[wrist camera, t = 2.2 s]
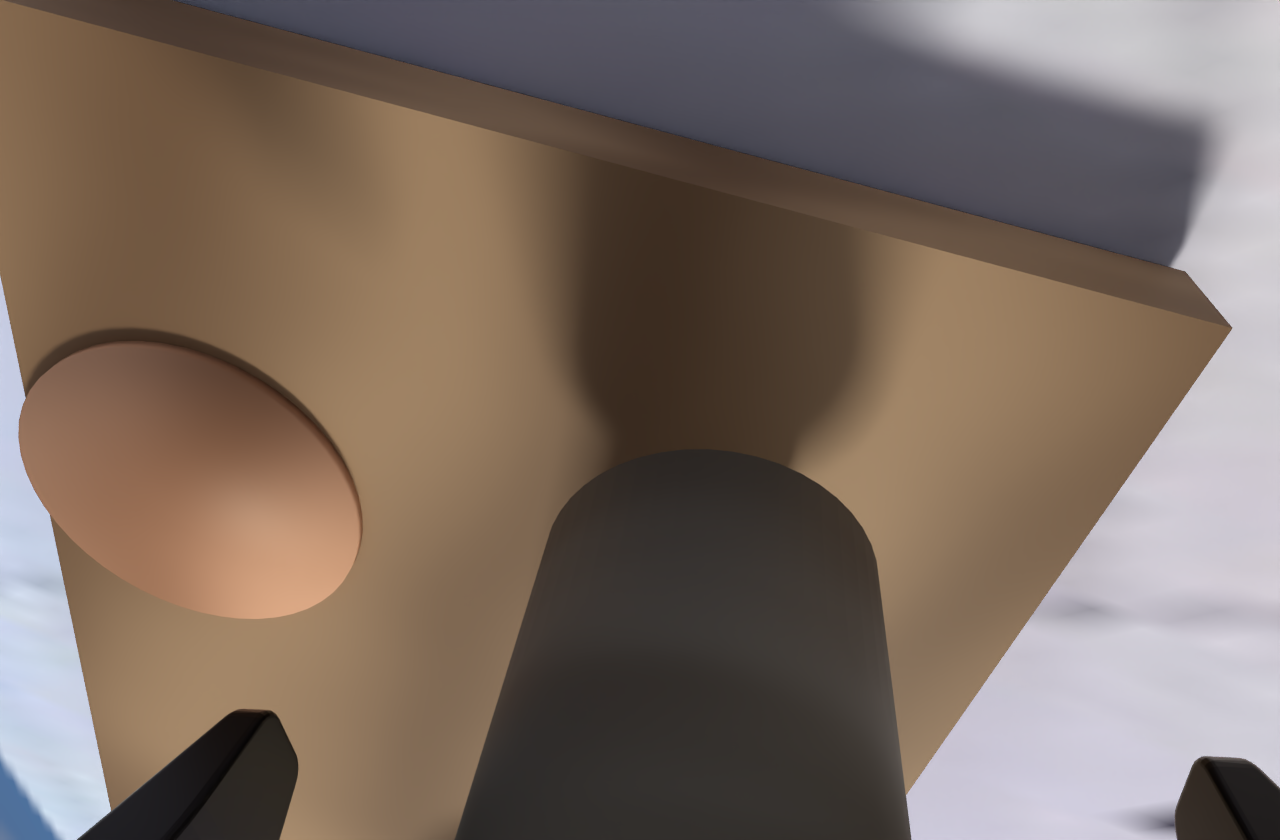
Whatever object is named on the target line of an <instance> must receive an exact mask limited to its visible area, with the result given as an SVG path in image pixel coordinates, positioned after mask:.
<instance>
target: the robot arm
mask: <svg viewBox="0 0 1280 840" xmlns="http://www.w3.org/2000/svg"><path fill="white" fill-rule="evenodd" d="M297 778H298V758H297V755H296V752H295V750H294V748H293V746H292V744H291V742H290V740H289V738H288V736H287V734H286V731H285V729H284V727H283V725H282V723H281V721H280V719H279V717H278V716H277V714H276V713H274V712H273V711H271V710H262V709H237V710H235V711H233V712H231V713H229V714H228V715H226V716H225V717H224V718H223V719H221V720H220V721H219V722H218V723H216V724H215V725H214V726H213V727H212V728H210V729H209V730H208V731H207V732H206V733H204V734H203V735H202V736H201V737H200V738H198V739H197V740H196V741H195V742H194V743H192V744H191V745H190V746H189V747H188V748H186V749H185V750H184V751H183V752H182V753H180V754H179V755H178V756H177V757H176V758H174V759H173V760H172V761H171V762H170V763H168V764H167V765H166V766H165V767H164V768H162V769H161V770H160V771H159V772H158V773H156V774H155V775H154V776H153V777H152V778H150V779H149V780H148V781H147V782H146V783H144V784H143V785H142V786H141V787H140V788H138V789H137V790H136V791H135V792H134V793H132V794H131V795H130V796H129V797H128V798H126V799H125V800H124V801H123V802H122V803H120V804H119V805H118V806H117V807H116V808H114V809H113V810H112V811H111V812H110V813H108V814H107V815H106V816H105V817H104V818H102V819H101V820H100V821H99V822H98V823H96V824H95V825H94V826H93V827H92V828H90V829H89V830H88V831H87V832H86V833H84V834H83V835H82V836H81V837H80V838H78V839H77V840H280V836H281V833H282V830H283V826H284V823H285V819H286V816H287V813H288V809H289V806H290V802H291V799H292V796H293V792H294V789H295V785H296V782H297ZM1175 830H1176V836H1177V840H1280V788H1279V787H1278V786H1277V785H1276V784H1275V783H1274V782H1273V781H1272V780H1271V779H1270V778H1269V777H1268V776H1267V775H1266V774H1265V773H1264V772H1263V771H1262V770H1261V769H1260V768H1258V767H1257V766H1256V765H1255V764H1253V763H1251V762H1250V761H1248V760H1246V759H1242V758H1231V757H1211V756H1203V757H1200V758H1199V759H1197V760H1196V761H1195V762H1194V764H1193V765H1192V768H1191V770H1190V773H1189V775H1188V778H1187V780H1186V783H1185V786H1184V788H1183V791H1182V793H1181V796H1180V798H1179V801H1178V803H1177V806H1176V810H1175Z"/></svg>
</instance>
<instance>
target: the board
mask: <svg viewBox="0 0 1280 840" xmlns="http://www.w3.org/2000/svg"><path fill="white" fill-rule="evenodd" d="M0 276H1V281H2V285H3V290H4V295H5V300H6V305H7V310H8V314H9V319H10V324H11V329H12V334H13V339H14V343H15V348H16V353H17V358H18V363H19V367H20V372H21V377H22V382H23V387H24V392H25V396H26V399H25V401H24V404H23V406H22V410H21V415H20V419H19V444H20V452H21V456H22V460H23V463H24V467H25V470H26V473H27V475H28V477H29V479H30V482H31V484H32V486H33V488H34V490H35V492H36V494H37V495H38V497H39V499H40V500H41V502H42V504H43V505H44V507H45V508H46V510H47V511H48V512H49V514H50V517H51V522H52V527H53V532H54V536H55V541H56V546H57V551H58V556H59V561H60V565H61V570H62V575H63V580H64V585H65V590H66V594H67V599H68V604H69V609H70V614H71V619H72V623H73V628H74V633H75V638H76V643H77V648H78V652H79V657H80V662H81V667H82V672H83V676H84V681H85V686H86V691H87V696H88V701H89V705H90V710H91V715H92V720H93V725H94V730H95V734H96V739H97V744H98V749H99V754H100V759H101V763H102V768H103V773H104V778H105V783H106V788H107V792H108V797H109V802H110V807H111V811H112V810H113V809H114V808H116V807H117V806H118V805H119V804H120V803H122V802H123V801H124V800H125V799H126V798H128V797H129V796H130V795H131V794H132V793H134V792H135V791H136V790H137V789H138V788H140V787H141V786H142V785H143V784H144V783H146V782H147V781H148V780H149V779H150V778H152V777H153V776H154V775H155V774H156V773H158V772H159V771H160V770H161V769H162V768H164V767H165V766H166V765H167V764H168V763H170V762H171V761H172V760H173V759H174V758H176V757H177V756H178V755H179V754H180V753H182V752H183V751H184V750H185V749H186V748H188V747H189V746H190V745H191V744H192V743H194V742H195V741H196V740H197V739H198V738H200V737H201V736H202V735H203V734H204V733H206V732H207V731H208V730H209V729H210V728H212V727H213V726H214V725H215V724H216V723H218V722H219V721H220V720H221V719H223V718H224V717H225V716H226V715H228V714H229V713H231V712H233V711H235V710H237V709H262V710H271V711H273V712H274V713H276V714H277V716H278V717H279V719H280V721H281V723H282V725H283V727H284V729H285V731H286V734H287V736H288V738H289V740H290V742H291V744H292V746H293V748H294V750H295V752H296V755H297V758H298V778H297V782H296V785H295V789H294V792H293V796H292V799H291V802H290V806H289V809H288V813H287V816H286V819H285V823H284V826H283V830H282V833H281V836H280V840H455V837H456V833H457V830H458V827H459V824H460V821H461V817H462V814H463V811H464V808H465V804H466V801H467V798H468V795H469V791H470V788H471V785H472V782H473V779H474V775H475V772H476V769H477V766H478V762H479V759H480V756H481V753H482V750H483V746H484V743H485V740H486V737H487V733H488V730H489V727H490V724H491V720H492V717H493V714H494V711H495V708H496V704H497V701H498V698H499V695H500V691H501V688H502V685H503V682H504V679H505V675H506V672H507V669H508V666H509V662H510V659H511V656H512V653H513V650H514V646H515V643H516V640H517V637H518V633H519V630H520V627H521V624H522V620H523V617H524V614H525V611H526V608H527V604H528V601H529V598H530V595H531V591H532V588H533V585H534V582H535V579H536V575H537V572H538V569H539V566H540V562H541V559H542V556H543V553H544V549H545V546H546V543H547V540H548V537H549V534H550V531H551V528H552V525H553V523H554V522H555V520H556V518H557V516H558V514H559V512H560V511H561V510H562V508H563V507H564V506H565V504H566V503H567V502H568V501H569V499H570V498H571V497H572V496H573V495H574V494H575V493H576V492H577V491H578V490H580V489H581V488H582V487H583V486H584V485H585V484H587V483H588V482H589V481H591V480H592V479H594V478H595V477H597V476H598V475H600V474H601V473H603V472H605V471H607V470H609V469H611V468H613V467H615V466H617V465H619V464H622V463H625V462H627V461H630V460H633V459H636V458H639V457H643V456H647V455H651V454H655V453H660V452H667V451H675V450H684V449H711V450H722V451H732V452H737V453H742V454H747V455H752V456H757V457H760V458H763V459H766V460H769V461H773V462H776V463H779V464H781V465H783V466H786V467H788V468H790V469H792V470H795V471H797V472H799V473H801V474H803V475H805V476H806V477H808V478H810V479H811V480H813V481H815V482H816V483H818V484H820V485H821V486H822V487H824V488H825V489H826V490H828V491H829V492H830V493H832V494H833V495H834V496H835V497H837V498H838V499H839V500H840V501H841V502H842V503H843V504H844V505H845V506H846V507H847V508H848V509H849V510H850V511H851V512H852V514H853V515H854V516H855V518H856V519H857V521H858V522H859V523H860V525H861V526H862V527H863V529H864V531H865V533H866V535H867V537H868V539H869V541H870V543H871V545H872V548H873V551H874V554H875V557H876V560H877V568H878V575H879V583H880V591H881V599H882V607H883V616H884V624H885V632H886V640H887V648H888V656H889V664H890V672H891V680H892V688H893V696H894V704H895V712H896V720H897V728H898V736H899V745H900V753H901V761H902V769H903V777H904V785H905V793H906V794H907V793H908V791H909V790H910V789H911V787H912V786H913V784H914V783H915V781H916V780H917V779H918V777H919V776H920V774H921V773H922V771H923V770H924V769H925V767H926V766H927V764H928V763H929V761H930V760H931V759H932V757H933V756H934V754H935V753H936V751H937V750H938V749H939V747H940V746H941V744H942V743H943V741H944V740H945V739H946V737H947V736H948V734H949V733H950V731H951V730H952V729H953V727H954V726H955V724H956V723H957V721H958V720H959V719H960V717H961V716H962V714H963V713H964V711H965V710H966V709H967V707H968V706H969V704H970V703H971V701H972V700H973V699H974V697H975V696H976V694H977V693H978V691H979V690H980V689H981V687H982V686H983V684H984V683H985V681H986V680H987V678H988V677H989V676H990V674H991V673H992V671H993V670H994V668H995V667H996V666H997V664H998V663H999V661H1000V660H1001V658H1002V657H1003V656H1004V654H1005V653H1006V651H1007V650H1008V648H1009V647H1010V646H1011V644H1012V643H1013V641H1014V640H1015V638H1016V637H1017V636H1018V634H1019V633H1020V631H1021V630H1022V628H1023V627H1024V626H1025V624H1026V623H1027V621H1028V620H1029V618H1030V617H1031V616H1032V614H1033V613H1034V611H1035V610H1036V608H1037V607H1038V606H1039V604H1040V603H1041V601H1042V600H1043V598H1044V597H1045V596H1046V594H1047V593H1048V591H1049V590H1050V588H1051V587H1052V586H1053V584H1054V583H1055V581H1056V580H1057V578H1058V577H1059V576H1060V574H1061V573H1062V571H1063V570H1064V568H1065V567H1066V565H1067V564H1068V563H1069V561H1070V560H1071V558H1072V557H1073V555H1074V554H1075V553H1076V551H1077V550H1078V548H1079V547H1080V545H1081V544H1082V543H1083V541H1084V540H1085V538H1086V537H1087V535H1088V534H1089V533H1090V531H1091V530H1092V528H1093V527H1094V525H1095V524H1096V523H1097V521H1098V520H1099V518H1100V517H1101V515H1102V514H1103V513H1104V511H1105V510H1106V508H1107V507H1108V505H1109V504H1110V503H1111V501H1112V500H1113V498H1114V497H1115V495H1116V494H1117V493H1118V491H1119V490H1120V488H1121V487H1122V485H1123V484H1124V483H1125V481H1126V480H1127V478H1128V477H1129V475H1130V474H1131V473H1132V471H1133V470H1134V468H1135V467H1136V465H1137V464H1138V462H1139V461H1140V460H1141V458H1142V457H1143V455H1144V454H1145V452H1146V451H1147V450H1148V448H1149V447H1150V445H1151V444H1152V442H1153V441H1154V440H1155V438H1156V437H1157V435H1158V434H1159V432H1160V431H1161V430H1162V428H1163V427H1164V425H1165V424H1166V422H1167V421H1168V420H1169V418H1170V417H1171V415H1172V414H1173V412H1174V411H1175V410H1176V408H1177V407H1178V405H1179V404H1180V402H1181V401H1182V400H1183V398H1184V397H1185V395H1186V394H1187V392H1188V391H1189V390H1190V388H1191V387H1192V385H1193V384H1194V382H1195V381H1196V380H1197V378H1198V377H1199V375H1200V374H1201V372H1202V371H1203V370H1204V368H1205V367H1206V365H1207V364H1208V362H1209V361H1210V360H1211V358H1212V357H1213V355H1214V354H1215V352H1216V351H1217V349H1218V348H1219V347H1220V345H1221V344H1222V342H1223V341H1224V339H1225V338H1226V337H1227V335H1228V334H1229V332H1230V331H1231V329H1232V327H1231V326H1230V325H1229V323H1228V322H1227V321H1226V320H1225V319H1224V317H1223V316H1222V315H1221V314H1220V313H1219V311H1218V310H1217V309H1216V308H1215V307H1214V305H1213V304H1212V303H1211V302H1210V301H1209V299H1208V298H1207V297H1206V296H1205V295H1204V293H1203V292H1202V291H1201V290H1200V289H1199V287H1198V286H1197V285H1196V284H1195V283H1194V281H1193V280H1192V279H1191V278H1190V277H1189V275H1188V274H1187V273H1186V272H1185V271H1181V270H1177V269H1174V268H1170V267H1166V266H1162V265H1159V264H1155V263H1151V262H1147V261H1144V260H1140V259H1136V258H1132V257H1129V256H1125V255H1121V254H1118V253H1114V252H1110V251H1106V250H1103V249H1099V248H1095V247H1091V246H1088V245H1084V244H1080V243H1076V242H1073V241H1069V240H1065V239H1062V238H1058V237H1054V236H1050V235H1047V234H1043V233H1039V232H1035V231H1032V230H1028V229H1024V228H1020V227H1017V226H1013V225H1009V224H1006V223H1002V222H998V221H994V220H991V219H987V218H983V217H979V216H976V215H972V214H968V213H964V212H961V211H957V210H953V209H950V208H946V207H942V206H938V205H935V204H931V203H927V202H923V201H920V200H916V199H912V198H908V197H905V196H901V195H897V194H894V193H890V192H886V191H882V190H879V189H875V188H871V187H867V186H864V185H860V184H856V183H853V182H849V181H845V180H841V179H838V178H834V177H830V176H826V175H823V174H819V173H815V172H811V171H808V170H804V169H800V168H797V167H793V166H789V165H785V164H782V163H778V162H774V161H770V160H767V159H763V158H759V157H755V156H752V155H748V154H744V153H741V152H737V151H733V150H729V149H726V148H722V147H718V146H714V145H711V144H707V143H703V142H699V141H696V140H692V139H688V138H685V137H681V136H677V135H673V134H670V133H666V132H662V131H658V130H655V129H651V128H647V127H643V126H640V125H636V124H632V123H629V122H625V121H621V120H617V119H614V118H610V117H606V116H602V115H599V114H595V113H591V112H587V111H584V110H580V109H576V108H573V107H569V106H565V105H561V104H558V103H554V102H550V101H546V100H543V99H539V98H535V97H531V96H528V95H524V94H520V93H517V92H513V91H509V90H505V89H502V88H498V87H494V86H490V85H487V84H483V83H479V82H475V81H472V80H468V79H464V78H461V77H457V76H453V75H449V74H446V73H442V72H438V71H434V70H431V69H427V68H423V67H419V66H416V65H412V64H408V63H405V62H401V61H397V60H393V59H390V58H386V57H382V56H378V55H375V54H371V53H367V52H363V51H360V50H356V49H352V48H349V47H345V46H341V45H337V44H334V43H330V42H326V41H322V40H319V39H315V38H311V37H307V36H304V35H300V34H296V33H293V32H289V31H285V30H281V29H278V28H274V27H270V26H266V25H263V24H259V23H255V22H251V21H248V20H244V19H240V18H237V17H233V16H229V15H225V14H222V13H218V12H214V11H210V10H207V9H203V8H199V7H195V6H192V5H188V4H184V3H181V2H177V1H173V0H0Z"/></svg>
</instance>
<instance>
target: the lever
mask: <svg viewBox="0 0 1280 840" xmlns="http://www.w3.org/2000/svg"><path fill="white" fill-rule="evenodd" d="M455 840H911V833H910V825H909V817H908V809H907V801H906V793H905V785H904V777H903V769H902V761H901V753H900V745H899V736H898V728H897V720H896V712H895V704H894V696H893V688H892V680H891V672H890V664H889V656H888V648H887V640H886V632H885V624H884V616H883V607H882V599H881V591H880V583H879V575H878V568H877V560H876V557H875V554H874V551H873V548H872V545H871V543H870V541H869V539H868V537H867V535H866V533H865V531H864V529H863V527H862V526H861V525H860V523H859V522H858V521H857V519H856V518H855V516H854V515H853V514H852V512H851V511H850V510H849V509H848V508H847V507H846V506H845V505H844V504H843V503H842V502H841V501H840V500H839V499H838V498H837V497H835V496H834V495H833V494H832V493H830V492H829V491H828V490H826V489H825V488H824V487H822V486H821V485H820V484H818V483H816V482H815V481H813V480H811V479H810V478H808V477H806V476H805V475H803V474H801V473H799V472H797V471H795V470H792V469H790V468H788V467H786V466H783V465H781V464H779V463H776V462H773V461H769V460H766V459H763V458H760V457H757V456H752V455H747V454H742V453H737V452H732V451H722V450H711V449H684V450H675V451H667V452H660V453H655V454H651V455H647V456H643V457H639V458H636V459H633V460H630V461H627V462H625V463H622V464H619V465H617V466H615V467H613V468H611V469H609V470H607V471H605V472H603V473H601V474H600V475H598V476H597V477H595V478H594V479H592V480H591V481H589V482H588V483H587V484H585V485H584V486H583V487H582V488H581V489H580V490H578V491H577V492H576V493H575V494H574V495H573V496H572V497H571V498H570V499H569V501H568V502H567V503H566V504H565V506H564V507H563V508H562V510H561V511H560V512H559V514H558V516H557V518H556V520H555V522H554V523H553V525H552V528H551V531H550V534H549V537H548V540H547V543H546V546H545V549H544V553H543V556H542V559H541V562H540V566H539V569H538V572H537V575H536V579H535V582H534V585H533V588H532V591H531V595H530V598H529V601H528V604H527V608H526V611H525V614H524V617H523V620H522V624H521V627H520V630H519V633H518V637H517V640H516V643H515V646H514V650H513V653H512V656H511V659H510V662H509V666H508V669H507V672H506V675H505V679H504V682H503V685H502V688H501V691H500V695H499V698H498V701H497V704H496V708H495V711H494V714H493V717H492V720H491V724H490V727H489V730H488V733H487V737H486V740H485V743H484V746H483V750H482V753H481V756H480V759H479V762H478V766H477V769H476V772H475V775H474V779H473V782H472V785H471V788H470V791H469V795H468V798H467V801H466V804H465V808H464V811H463V814H462V817H461V821H460V824H459V827H458V830H457V833H456V837H455Z"/></svg>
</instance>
